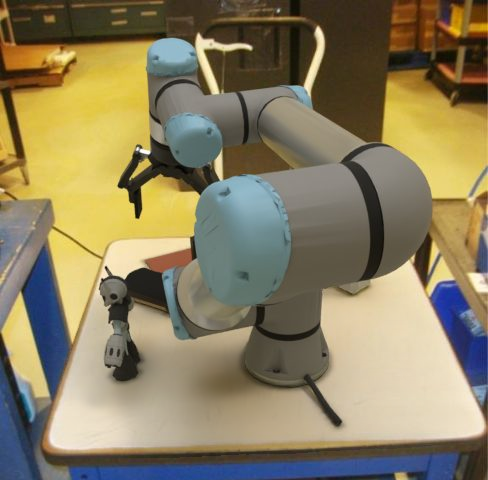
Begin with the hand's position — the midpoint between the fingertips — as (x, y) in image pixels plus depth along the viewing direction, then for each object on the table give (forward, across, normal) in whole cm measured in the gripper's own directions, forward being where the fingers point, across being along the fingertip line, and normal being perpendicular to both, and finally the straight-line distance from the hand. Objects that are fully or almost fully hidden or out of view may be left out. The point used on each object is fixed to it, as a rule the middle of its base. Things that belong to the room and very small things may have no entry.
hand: (173, 220), depth 120 cm
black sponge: (+17, +1, +8) cm, 18 cm away
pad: (+22, -2, -9) cm, 24 cm away
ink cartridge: (+20, -6, -5) cm, 22 cm away
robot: (+9, +2, +29) cm, 30 cm away
